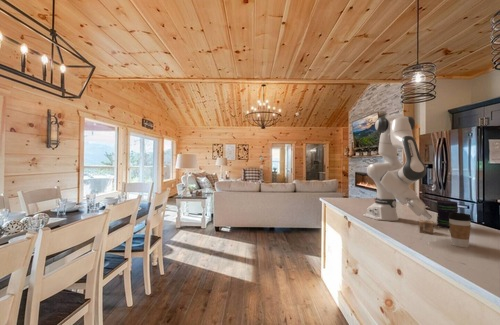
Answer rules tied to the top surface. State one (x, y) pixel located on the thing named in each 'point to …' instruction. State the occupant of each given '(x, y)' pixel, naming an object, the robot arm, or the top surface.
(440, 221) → the storage jar
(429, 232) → the lettered cube
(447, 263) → the top surface
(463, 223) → the coffee cup
